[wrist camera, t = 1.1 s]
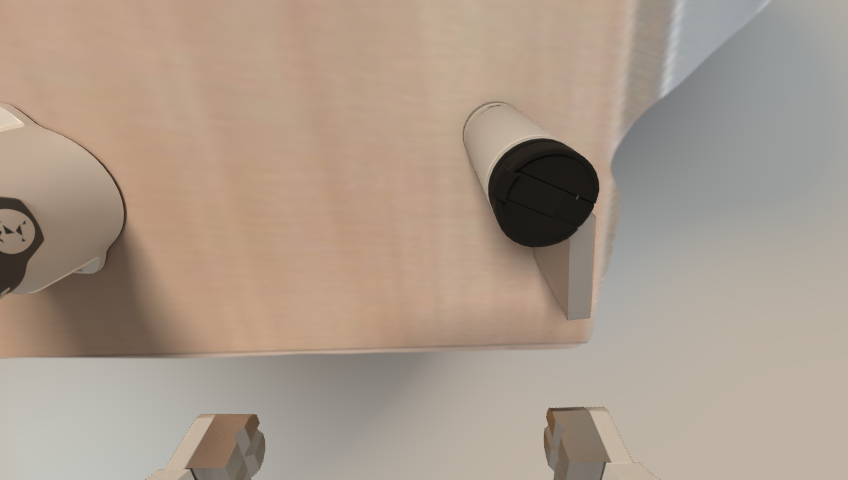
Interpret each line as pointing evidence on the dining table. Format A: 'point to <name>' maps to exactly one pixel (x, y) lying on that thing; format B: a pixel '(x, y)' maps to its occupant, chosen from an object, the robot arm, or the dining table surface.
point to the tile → (571, 270)
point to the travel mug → (529, 176)
